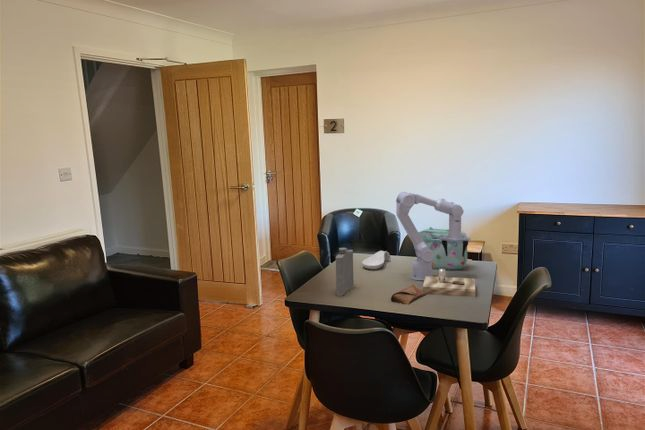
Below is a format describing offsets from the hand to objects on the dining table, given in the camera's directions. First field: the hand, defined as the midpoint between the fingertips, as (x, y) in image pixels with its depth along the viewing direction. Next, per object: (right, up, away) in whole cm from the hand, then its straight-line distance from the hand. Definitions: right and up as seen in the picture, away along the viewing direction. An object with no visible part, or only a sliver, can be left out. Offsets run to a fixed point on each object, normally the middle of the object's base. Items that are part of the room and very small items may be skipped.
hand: (454, 255), depth 223 cm
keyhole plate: (-8, -14, -18) cm, 24 cm away
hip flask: (-55, -15, -15) cm, 59 cm away
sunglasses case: (-27, -16, -27) cm, 41 cm away
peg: (-11, -14, -17) cm, 24 cm away
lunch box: (-2, -8, +18) cm, 20 cm away
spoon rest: (-35, -8, +27) cm, 44 cm away
